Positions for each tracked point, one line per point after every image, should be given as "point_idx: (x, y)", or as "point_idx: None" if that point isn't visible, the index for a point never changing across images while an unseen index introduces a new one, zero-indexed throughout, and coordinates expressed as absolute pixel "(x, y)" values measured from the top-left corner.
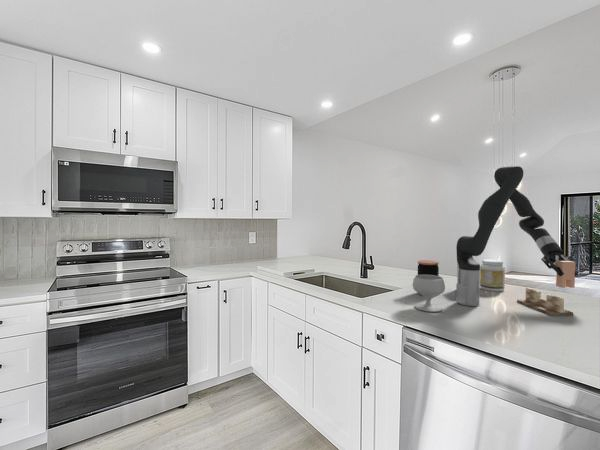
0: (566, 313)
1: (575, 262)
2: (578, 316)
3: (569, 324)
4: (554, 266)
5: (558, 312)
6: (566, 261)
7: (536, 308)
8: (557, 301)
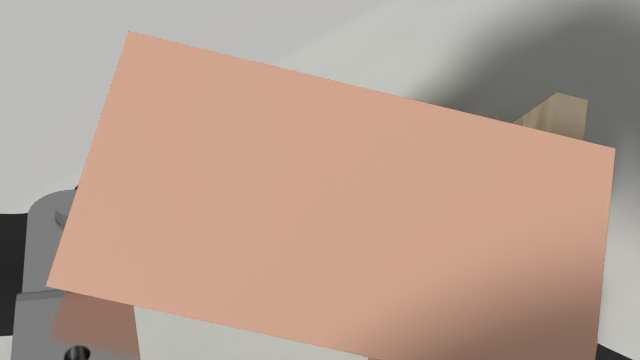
0: None
1: (132, 44)
2: (399, 93)
3: (623, 3)
4: (604, 355)
5: None
6: (371, 190)
7: None
8: None
